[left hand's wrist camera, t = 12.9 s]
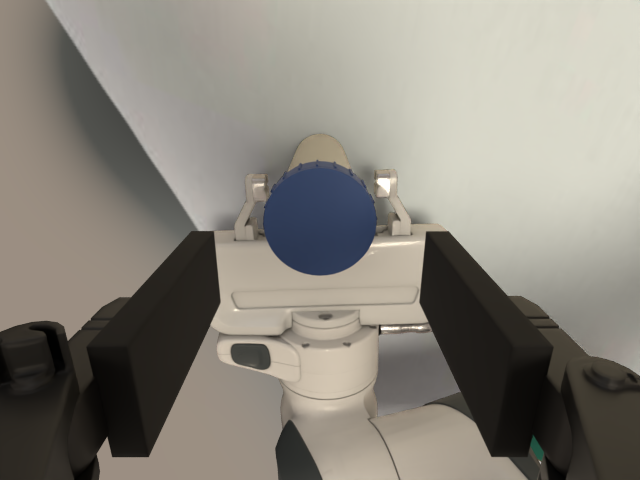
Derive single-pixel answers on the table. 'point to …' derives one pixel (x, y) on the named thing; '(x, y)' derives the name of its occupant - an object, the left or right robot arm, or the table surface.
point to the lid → (319, 218)
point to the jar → (319, 151)
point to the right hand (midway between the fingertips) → (320, 172)
